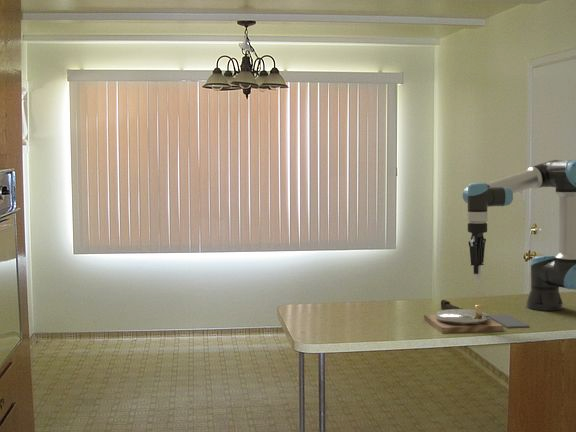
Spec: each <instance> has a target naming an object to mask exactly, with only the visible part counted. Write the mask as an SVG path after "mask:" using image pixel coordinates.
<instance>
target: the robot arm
mask: <svg viewBox="0 0 576 432" xmlns="http://www.w3.org/2000/svg"><path fill="white" fill-rule="evenodd" d="M539 188H555V193H556V194H557V195H558V197H559V201H558V207H559V208H558V212H559V213H558V252H557V254H555V255H554V254H552V255H551V254H549V255H537V256H533V257H532V258H531V264H530V290H529V294H528V297H527V300H526V307H527V308H528V309H531V310H535V311H545V312H546V311H547V312H548V311H550V312H551V311H552V312H553V311H561V310H563V309H564V304H563V300H562V297H561V294H560V288H562V289H567V290H575V291H576V159H560V160H559V159H554V160H548V161H545V162H543V163H539V164H535V165H533V166H529V167H528V168H527V169H526V170H524V171H521V172H519V173H515V174H511V175H509V176H505V177H502V178H498V179H496V180H492V181H488V182H471V183H469V184H468V186H466V187H465V188H464V190H462V199H463V202H464V203H466V204H467V213H466V216H467V222H468V223H467V232H468V233H471V236H470V237H471V238H470V240H469V241H468V247H469V256H470V257H469V258H470V266H472V268H473V269H472V273H473V274H472V276H473V277H472V278H473V279H472V282H473V283H481V282H482V266H484V260H485V248H486V242H487V239H486V238H485V237H484V233H488V223H487V222H488V208H489V207H490V208H491V207H505V206H506V207H507V206H510V205H511V204H512V202H513V200H514V194H516V193H520V192H523V191H525V190H529V189H539Z"/></svg>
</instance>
